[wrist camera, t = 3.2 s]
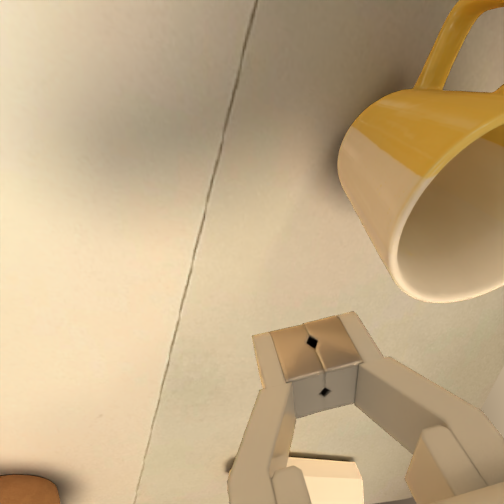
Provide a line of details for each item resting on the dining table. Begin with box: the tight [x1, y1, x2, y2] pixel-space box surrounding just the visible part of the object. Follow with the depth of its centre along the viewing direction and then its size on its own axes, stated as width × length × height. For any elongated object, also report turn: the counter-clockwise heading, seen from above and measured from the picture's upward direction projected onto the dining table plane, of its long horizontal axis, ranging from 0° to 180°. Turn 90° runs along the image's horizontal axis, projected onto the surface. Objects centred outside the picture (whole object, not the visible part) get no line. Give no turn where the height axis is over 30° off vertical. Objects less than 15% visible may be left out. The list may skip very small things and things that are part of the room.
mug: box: [337, 0, 504, 303], centre depth 18 cm, size 14×10×10 cm
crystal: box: [227, 457, 364, 504], centre depth 50 cm, size 7×7×24 cm
